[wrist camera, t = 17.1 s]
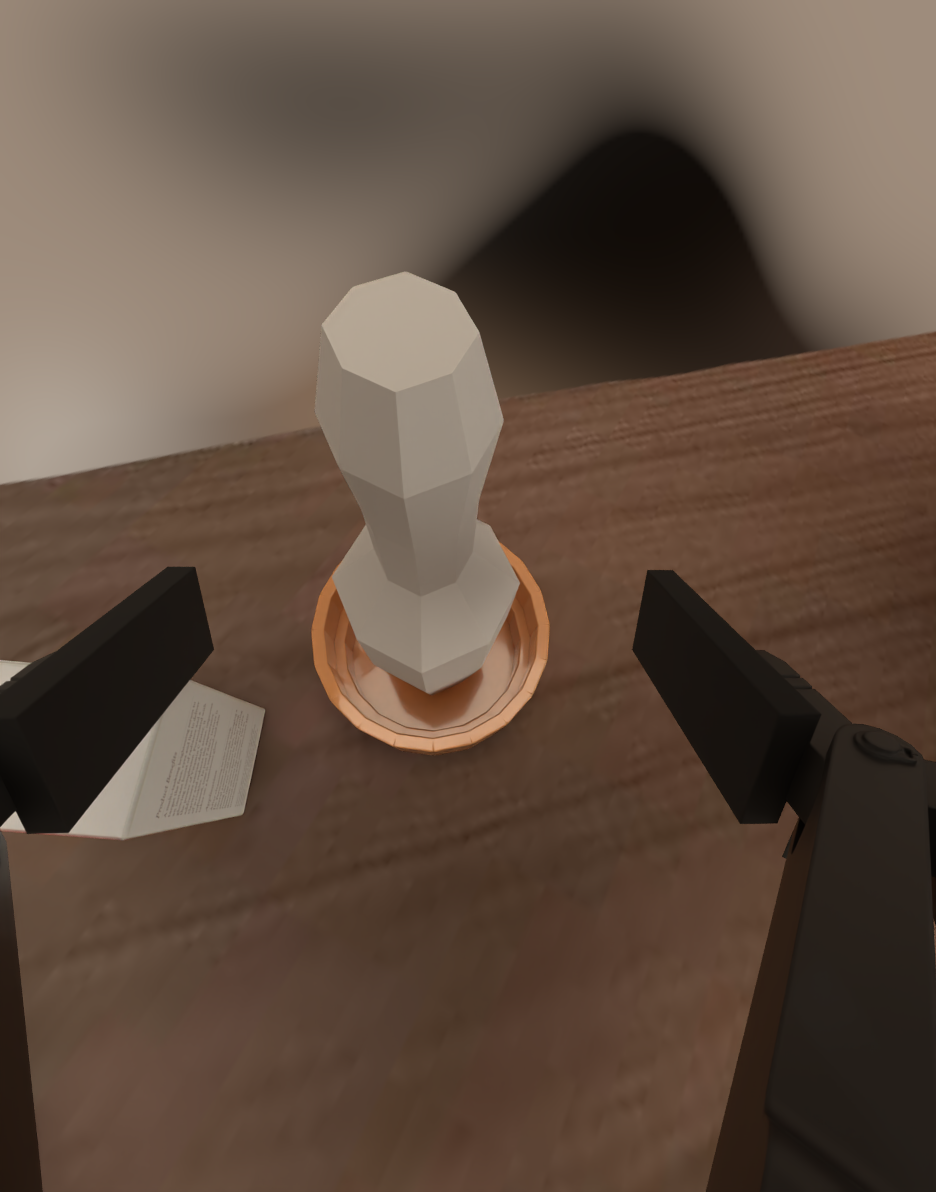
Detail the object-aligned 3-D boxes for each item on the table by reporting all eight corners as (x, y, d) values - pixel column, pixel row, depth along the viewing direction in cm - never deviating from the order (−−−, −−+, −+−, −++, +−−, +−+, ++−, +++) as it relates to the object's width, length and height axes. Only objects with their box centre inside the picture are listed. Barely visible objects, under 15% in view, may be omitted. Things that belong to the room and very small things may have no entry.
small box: (89, 805, 26) (-134, 824, 16) (123, 695, 28) (-58, 651, 18) (246, 818, 26) (122, 846, 16) (269, 707, 28) (171, 671, 18)
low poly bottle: (430, 734, 27) (377, 604, 6) (353, 649, 28) (103, 313, 8) (512, 654, 29) (687, 342, 8) (436, 578, 30) (416, 141, 9)
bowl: (507, 550, 31) (520, 506, 26) (551, 732, 28) (575, 723, 23) (326, 580, 30) (302, 540, 25) (347, 773, 27) (324, 773, 22)
